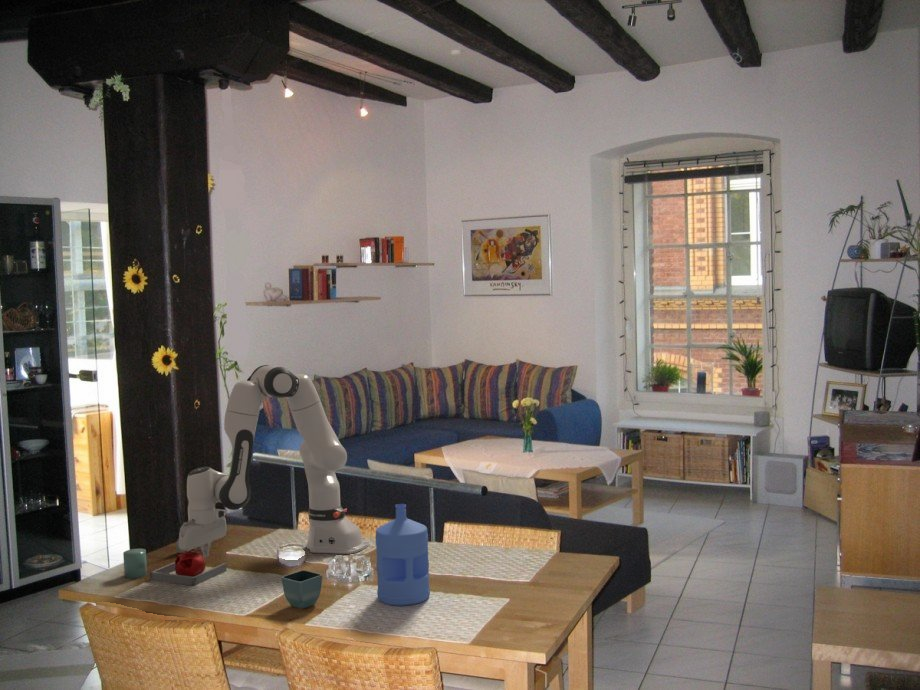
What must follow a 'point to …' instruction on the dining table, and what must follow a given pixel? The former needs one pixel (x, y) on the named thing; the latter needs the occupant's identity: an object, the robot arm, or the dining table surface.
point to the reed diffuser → (179, 525)
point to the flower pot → (302, 588)
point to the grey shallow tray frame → (163, 576)
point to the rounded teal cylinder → (135, 563)
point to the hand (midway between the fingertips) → (204, 556)
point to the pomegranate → (189, 564)
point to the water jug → (402, 561)
